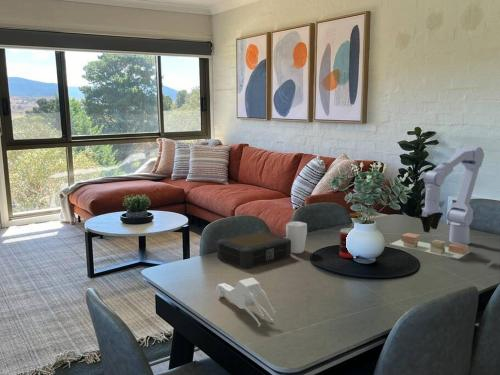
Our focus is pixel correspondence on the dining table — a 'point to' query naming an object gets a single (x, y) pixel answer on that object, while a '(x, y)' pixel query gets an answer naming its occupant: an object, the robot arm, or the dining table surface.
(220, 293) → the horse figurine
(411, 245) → the marked block
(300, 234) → the cup
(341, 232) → the canned food
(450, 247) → the cap plain
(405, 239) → the cap marked
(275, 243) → the cash box
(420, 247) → the board
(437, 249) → the plain block
